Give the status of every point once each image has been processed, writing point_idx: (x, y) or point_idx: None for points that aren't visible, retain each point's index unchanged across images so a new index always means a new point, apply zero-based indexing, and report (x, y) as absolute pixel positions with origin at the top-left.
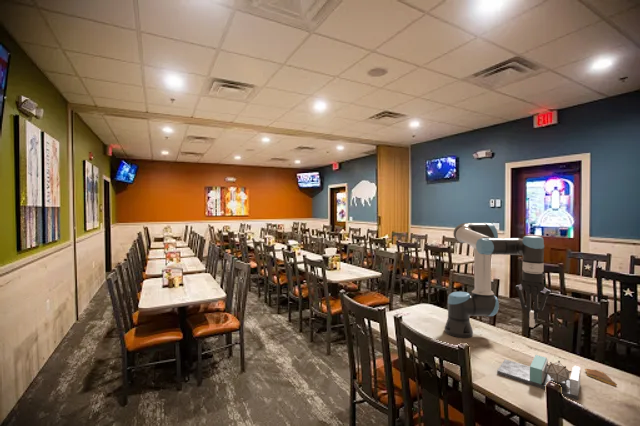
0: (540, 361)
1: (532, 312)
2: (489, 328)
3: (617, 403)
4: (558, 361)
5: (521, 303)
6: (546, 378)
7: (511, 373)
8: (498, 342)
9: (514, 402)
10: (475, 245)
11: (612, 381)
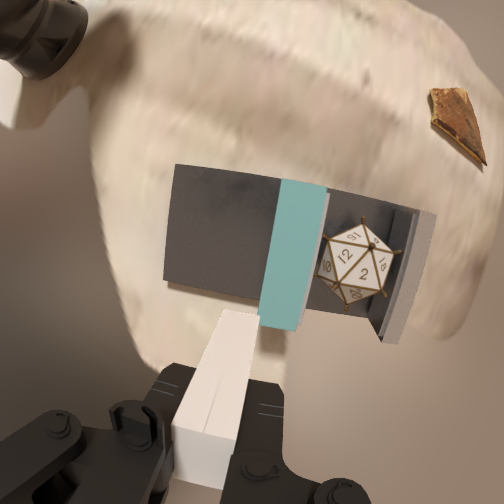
0: (298, 249)
1: (209, 483)
2: None
3: (461, 271)
4: (369, 247)
5: (39, 499)
6: None
7: (204, 277)
8: (159, 10)
9: None
10: None
11: (481, 149)
